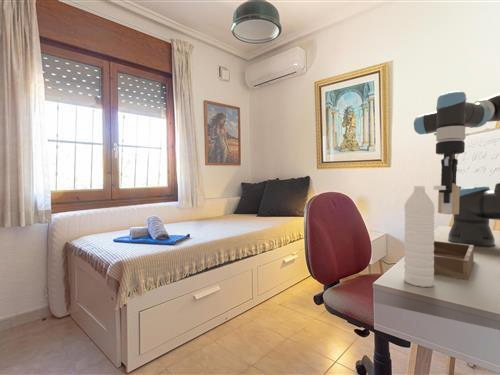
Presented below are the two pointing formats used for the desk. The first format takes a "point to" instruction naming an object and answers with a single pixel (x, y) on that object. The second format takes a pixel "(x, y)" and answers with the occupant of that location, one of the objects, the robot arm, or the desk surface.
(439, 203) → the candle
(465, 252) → the walnut box
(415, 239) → the water bottle
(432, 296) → the desk surface
